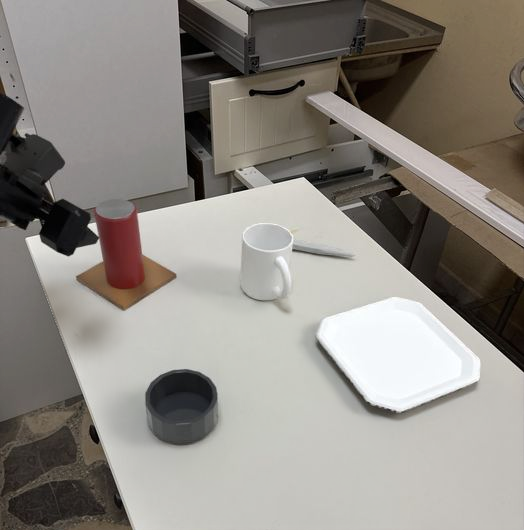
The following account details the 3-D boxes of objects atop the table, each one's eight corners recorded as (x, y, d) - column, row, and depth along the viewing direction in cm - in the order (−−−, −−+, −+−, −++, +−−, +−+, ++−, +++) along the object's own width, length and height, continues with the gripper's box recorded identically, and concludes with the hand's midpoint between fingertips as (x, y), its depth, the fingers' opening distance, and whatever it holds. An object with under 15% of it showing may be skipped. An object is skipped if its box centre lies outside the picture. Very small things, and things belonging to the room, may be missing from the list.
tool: (354, 257, 100) (356, 248, 98) (353, 262, 98) (355, 253, 97) (266, 241, 102) (267, 232, 100) (264, 245, 100) (265, 237, 99)
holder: (148, 448, 67) (145, 427, 64) (148, 393, 73) (145, 371, 70) (220, 441, 68) (220, 420, 65) (213, 388, 75) (213, 366, 72)
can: (128, 294, 87) (117, 224, 77) (98, 280, 89) (84, 211, 79) (152, 274, 91) (145, 205, 81) (123, 262, 93) (112, 193, 83)
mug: (306, 308, 88) (315, 257, 81) (263, 321, 85) (267, 269, 78) (273, 268, 96) (278, 218, 88) (232, 279, 93) (233, 228, 85)
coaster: (124, 310, 85) (123, 307, 84) (76, 279, 90) (75, 276, 89) (176, 277, 92) (176, 273, 91) (129, 250, 97) (129, 246, 96)
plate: (406, 300, 91) (409, 290, 90) (490, 382, 79) (496, 372, 77) (304, 332, 84) (305, 322, 83) (379, 428, 71) (382, 418, 70)
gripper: (61, 148, 58) (145, 201, 72) (-32, 101, 66) (60, 157, 80) (18, 238, 59) (109, 273, 73) (-70, 181, 67) (28, 222, 81)
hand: (76, 228), depth 77 cm, fingers open, 9 cm apart
